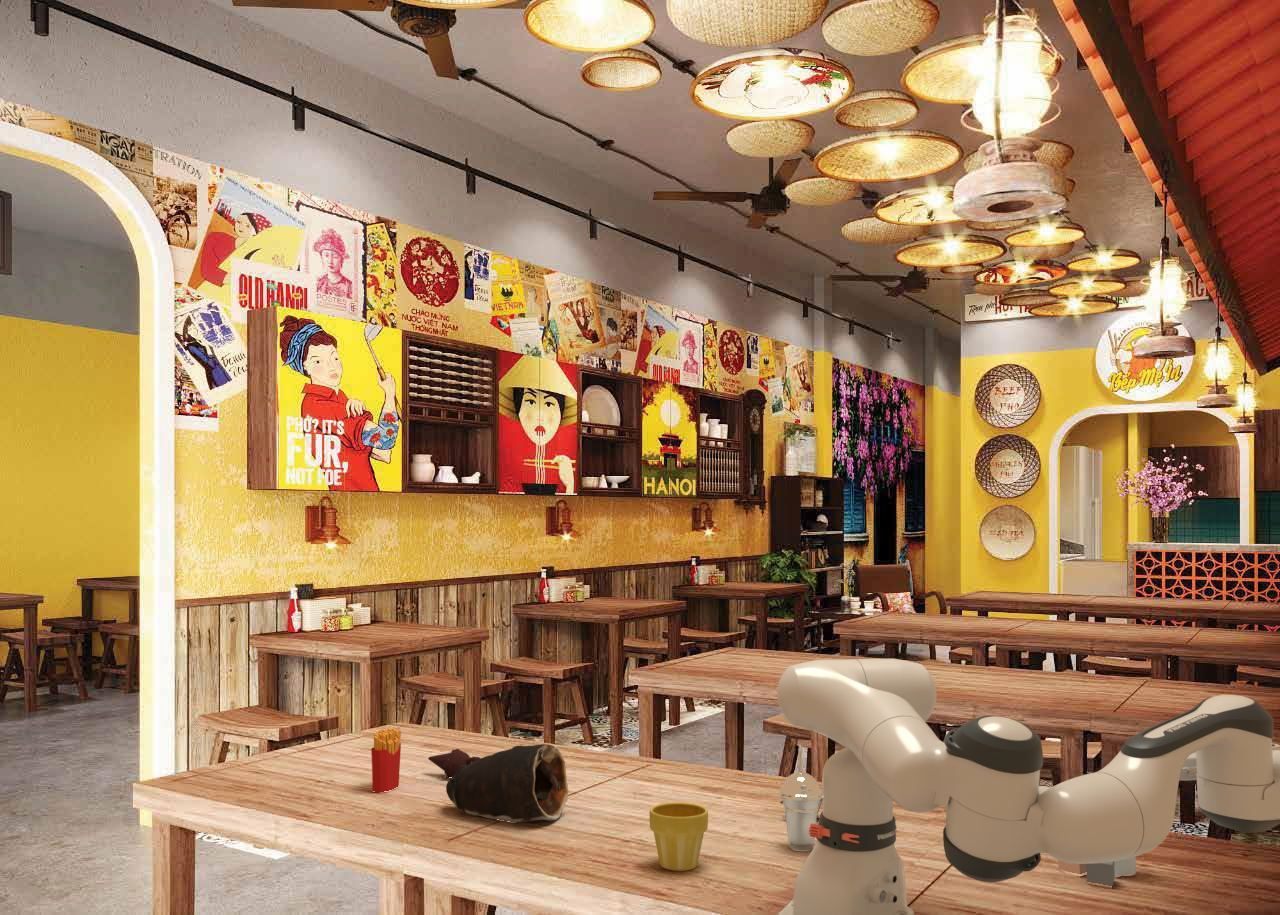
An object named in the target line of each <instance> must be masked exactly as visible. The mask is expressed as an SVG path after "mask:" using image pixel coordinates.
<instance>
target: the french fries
mask: <svg viewBox="0 0 1280 915" xmlns="http://www.w3.org/2000/svg"><path fill="white" fill-rule="evenodd" d="M401 735H402V731H401V730H400V729H398V730H397V729H396V728H394V727H393V728H390V727H389V728H387V729H379V730H378V732H375V733H373V747H371V749H370V750H371V751H370V752H371V754H370V755H371V780H372V781H371V783H372V784H371V785H372V792H373V791H375V792H384V791H389V790H392V789H394V788H396V787H398V786H399V785H400V769H401V768H400V767H401V749H402V748H401V747H402V742H401V737H402V736H401ZM399 787H400V786H399ZM394 790H395V789H394ZM392 791H393V790H392ZM375 792H374V793H375Z"/></svg>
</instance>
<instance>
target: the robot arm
mask: <svg viewBox="0 0 1280 915" xmlns="http://www.w3.org/2000/svg"><path fill="white" fill-rule="evenodd" d="M937 696H938V694H937V687H936V683H935V681H934V678H933V677H932V675H931V673H930V672H929V670H928V669H927V668H926V667H925V665H923V664H921V663H918V662H913V661H909V660H903V659H898V658H852V659H850V658H848V659H846V658H845V659H842V658H841V659H815V660H810V661H805V662H800V663H795V664H791V665H789V666H788V667H786V669H785V670H783V673H782V674H781V676H780V678H779V681H778V684H777V690H776V698H777V704H778V707H779V710H780V712H781V713H782V715H783V717H784V718H785V720H786V721H787V722H788V723H790V725H791V726H795V727H798V728H802V729H806V730H810V731H812V732H815V733H818V734H820V735H823V736H825V737H826V738H829V739H831V740H832V741H834V742H836V743H837V744H840V745H841V746H843V748H842V749H840V750H838V751H837V752H835V753H834V754H832V755H831V756H829V758H828V759H827V760H826V761H825V764H824V766H823V769H822V776H821V777H822V784H821V785H822V788H821V790H822V811H821V813H820V814H819V820H817V821H818V822H817V823H816V824H813V823H812V824H811V825H810V828H809V832H810V833H809V835H810V836H811V837H815V838H816V840H817V841H816V842H815V844H814V845H813V850H811V852H809V855H808V857H807V858H806V860H805V862H804V863H803V864H802V867H801V869H800V871H799V873H798V874H797V876H796V878H795V881H794V887H793V899H791V901H789V902H788V904H787V905H786V906H784V908H782V910H780V911H779V913H778V914H777V915H915V910H913V909H912V908H911V907H909V906H908V902H907V901H908V899H907V889H906V888H907V887H906V876H905V866H904V865H905V864H904V861H903V860H902V858H901V857H900V855H899V853H898V851H897V848H896V846H895V843H896V841H897V832H898V831H897V830H898V828H897V824H896V818H895V816H894V815H893V814H894V813H893V812H894V803H895V804H896V805H897V806H899V807H900V808H902V809H904V810H906V811H908V812H912V813H928V812H931V811H934V810H936V809H939V808H940V807H942V806H943V807H945V808H946V814H945V826H944V828H943V831H942V836H943V837H942V841H943V850H944V855H945V858H946V859H947V861H948V862H949V864H950V865H951V866H952V867H954V869H956V870H957V871H958V872H959V873H961V874H962V875H963V876H966V877H968V878H971V879H973V880H976V881H979V882H983V883H984V882H985V883H999V882H1003V881H1007V880H1010V879H1013V878H1016V877H1018V876H1019V875H1021V874H1022V873H1024V872H1030V871H1033V870H1034V869H1036V867H1037V866H1038V865H1039V864H1040V862H1041V860H1042V856H1041V853H1043V854H1047V855H1049V856H1051V857H1052V858H1054V859H1056V860H1057V861H1058V860H1060V861H1062V862H1067V863H1077V864H1093V863H1105V862H1113V861H1117V860H1122V859H1127V858H1131V857H1135V856H1136V857H1138V856H1141V855H1144V854H1146V853H1149V852H1151V851H1152V850H1154V849H1155V848H1157V847H1158V846H1159V845H1161V844H1162V843H1163V842H1164V841H1165V840H1166V838H1167V837H1168V835H1169V834H1170V832H1171V831H1172V828H1173V825H1174V821H1175V815H1176V814H1175V813H1176V807H1177V797H1178V789H1179V783H1180V781H1196V788H1197V789H1196V790H1197V791H1196V792H1197V802H1198V807H1199V809H1200V811H1201V812H1202V813H1203V814H1204V815H1205V816H1206V817H1207V818H1208V819H1209V820H1210V821H1212V822H1213V823H1215V824H1216V825H1218V826H1220V827H1223V828H1227V829H1230V830H1234V831H1238V832H1242V833H1249V834H1252V833H1253V834H1254V833H1257V834H1258V833H1262V832H1266V831H1269V830H1271V829H1273V828H1274V827H1277V826H1278V825H1280V744H1277V743H1273V740H1274V723H1275V722H1274V721H1275V720H1274V718H1273V717H1272V715H1271V714H1270V712H1268V711H1267V709H1265V708H1264V706H1263V705H1262V704H1260V702H1258V701H1257V700H1256V699H1254V698H1252V697H1248V696H1243V695H1240V694H1239V695H1237V694H1219V695H1214V696H1211V697H1210V696H1209V697H1207V698H1204V699H1202V700H1201V701H1200V702H1199V703H1197V704H1196V705H1195V706H1194V707H1192V708H1191V709H1189V710H1187V711H1184V712H1183V713H1181V714H1178V715H1176V716H1174V717H1172V718H1169V719H1166V720H1164V721H1162V722H1159V723H1157V724H1154V725H1153V726H1151V727H1149V728H1146V729H1144V730H1142V731H1139V732H1138V733H1136V734H1134V735H1132V736H1130V737H1129V738H1128V739H1126V740H1125V742H1124V743H1123V745H1122V746H1121V748H1120V750H1119V752H1118V753H1117V754H1116V755H1115V757H1113V758H1112V760H1111V761H1110V762H1109V763H1108V764H1106V765H1105V766H1104V767H1103V768H1101V769H1099V770H1098V771H1095V772H1091V773H1087V774H1082V775H1078V776H1076V777H1073V778H1070V779H1067V780H1064V781H1062V782H1060V783H1058V784H1056V785H1053V786H1051V787H1050V786H1040V776H1041V769H1042V768H1043V765H1044V756H1043V755H1044V753H1043V751H1044V750H1043V745H1042V740H1041V738H1040V736H1039V735H1038V734H1037V733H1036V732H1035V731H1034V730H1033V729H1032V728H1031V727H1030V726H1028V725H1026V724H1025V723H1023V722H1022V721H1020V720H1016V719H1013V718H1010V717H1005V716H1000V715H992V714H991V715H981V716H978V717H976V718H975V717H974V718H972V719H970V720H968V721H967V722H966V721H965V722H964V723H963V724H962V725H961V726H960V727H955V728H953V729H951V730H949V731H948V732H946V735H945V736H944V739H943V741H942V740H940V739H939V737H938V736H937V735H936V734H935V732H934V731H933V730H932V728H931V727H930V726H929V725H928V723H927V722H926V721H928V720H929V718H930V717H931V716H932V714H933V712H934V710H935V707H936V705H937Z"/></svg>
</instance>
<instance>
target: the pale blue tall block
mask: <svg viewBox="0 0 1280 915" xmlns="http://www.w3.org/2000/svg"><path fill="white" fill-rule="evenodd" d="M1136 857H1137V856H1135V857H1131V858H1127V859H1122V860H1117V861H1114V874H1115V876H1122V875H1128V874H1135V873H1136V874H1137V860H1136V859H1137V858H1136Z"/></svg>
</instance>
